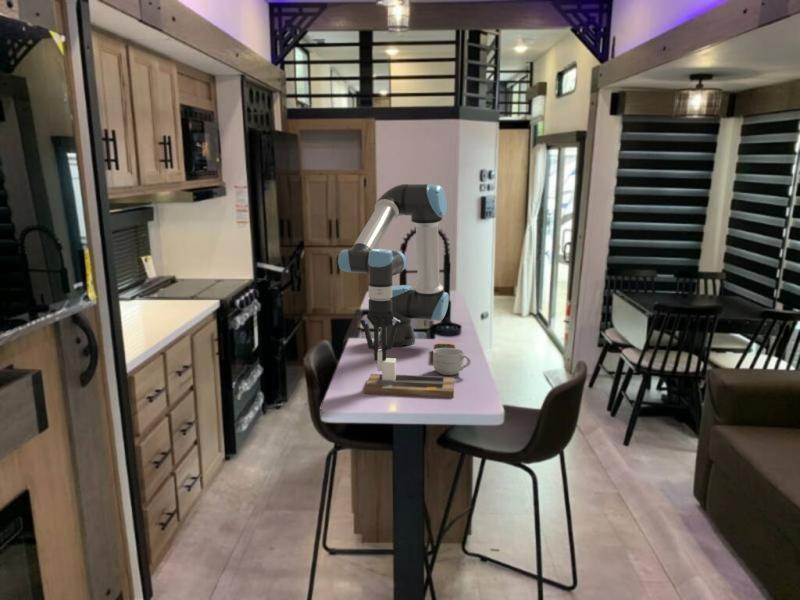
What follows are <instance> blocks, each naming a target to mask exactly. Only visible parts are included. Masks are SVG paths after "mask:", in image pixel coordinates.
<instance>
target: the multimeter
mask: <svg viewBox="0 0 800 600" xmlns="http://www.w3.org/2000/svg"><path fill="white" fill-rule="evenodd" d="M438 348H454V349H457V348H456V344H455V343H452V342H451V343H450V342H437V343H434V344H433V350H435V349H438Z"/></svg>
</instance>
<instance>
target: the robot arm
mask: <svg viewBox="0 0 800 600" xmlns="http://www.w3.org/2000/svg"><path fill="white" fill-rule="evenodd" d="M447 208H448V201H447V195H446V191H445V190H444V188H443V187H442V186H441V185H437V184H430V183H427V184H425V183H424V184H422V183H417V184H416V183H415V184H414V183H413V184H412V183H411V184H406V183H404V184H397V185H395V186H393V187H392V188H389V189H388V190H386V191H385V192H384V193H383V194H382V195H380V197H379V198H378V199H377V201H376V203H375V204H374V211H373V213H372V214H371V215H370V218H369V219H368V221H367V223H366V224H365V226H364V227H363V229H362V231H361V233H360V234H359V235H358V237H357V239H356V240H355V242H354V243H353V245H352V247H351V249H349V248H347V249H342V250H340V252H339V255H338V259H337V263H338V264H337V265H338V267H339V270H341V271H342V272H347V273H353V274H354V273H355V274H368V298H369V299H368V313H367V315H366V316H365V317H363V318H361V319H360V321H359V323H360V325H362V328H363V331H364V334H365V335H364V336H365V339H366V342H367V347H368V349H369V350H372V351H374V352H373V354H374V355H373V359H374V361H377V372H382V361H385V360H386V358H388V356H387V351H389V350H391V349H392V348H393V347H403V346H402V345H408V346H410V345H409V344H411V345H413V344H412V343H414V342H415V343H416V334H415V332H414V328H413V326H412V325H413V324H412V320H413V319H414V320H420V321H421V320H423V321H430V322H433V321H434V322H440V321H442V320H443V319H444V318H445V316H446V315H447V314H446V313H447V312H448V307H449V302H450V301H449V300H450V296H449V293H448V292H446V291H444V285H442V284H441V283H440V279H441V277H440V253H439V252H440V251H439V250H440V245H439V244H440V243H439V225H440V223H441V222H442V221H443V217H445V216H446V214H447ZM400 216H410V219H411V222H412V224H414V225H415V241H416V246H415V247H416V261H417V262H416V264H417V266H416V267H417V285H415V286H414V289H413V286H412V285H409V284H399V285H395V286H394V285H393V278H394V277H393V276H396V275H398V274H401V273H402V272H403V271H404V270H405V269H406V267H407V263H408V262H407V258H406V256H405V254H404V253H403V252H401V251H399V250H391V249H386V248H378V247H379V245H380V243H381V242H382V240H383V238H384V237H385V235H386V233H387V231H388V229H389V228H390V226H391V224H392V223H393V222H395V221H396V220H397V219H398V218H399V217H400ZM369 323H370V324H371V326H373V337H372V334H371V330H370V327H369ZM380 328H381V329H380ZM379 342H380V343H379ZM381 343H382V344H381ZM415 343H414V344H415ZM380 344H381V348H380Z"/></svg>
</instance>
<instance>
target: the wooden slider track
mask: <svg viewBox="0 0 800 600" xmlns="http://www.w3.org/2000/svg"><path fill="white" fill-rule="evenodd" d="M454 388H455V376H452V377H451V376H438V375H437V376H436V375H434V376H433V375H414V374H413V375H412V374H396V380H395V381H385V380H382V373H370V375H369V376H368V379H367V382H366V383H365V386H364V394H368V395H369V394H370V395H388V396H389V395H391V396H409V397H410V396H411V397H412V396H413V397H430V398H431V397H432V398H434V397H435V398H454V397H455V396H454V395H455V393H454V392H455V389H454Z"/></svg>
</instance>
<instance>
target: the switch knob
mask: <svg viewBox="0 0 800 600" xmlns="http://www.w3.org/2000/svg"><path fill="white" fill-rule="evenodd" d="M381 374H382V380H385V381H395V380H396V375H397V358H394V357H393V358H392V357H387V358H386V360H385V361H382V371H381Z"/></svg>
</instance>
